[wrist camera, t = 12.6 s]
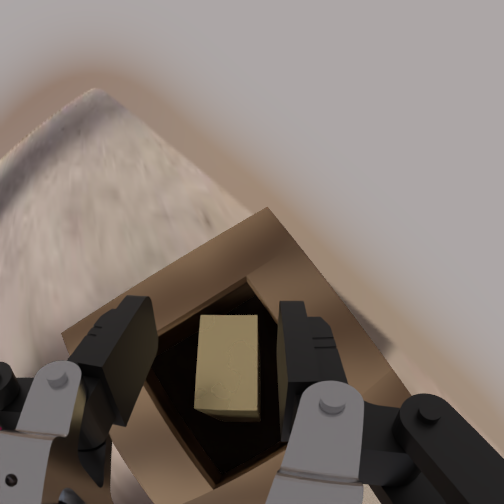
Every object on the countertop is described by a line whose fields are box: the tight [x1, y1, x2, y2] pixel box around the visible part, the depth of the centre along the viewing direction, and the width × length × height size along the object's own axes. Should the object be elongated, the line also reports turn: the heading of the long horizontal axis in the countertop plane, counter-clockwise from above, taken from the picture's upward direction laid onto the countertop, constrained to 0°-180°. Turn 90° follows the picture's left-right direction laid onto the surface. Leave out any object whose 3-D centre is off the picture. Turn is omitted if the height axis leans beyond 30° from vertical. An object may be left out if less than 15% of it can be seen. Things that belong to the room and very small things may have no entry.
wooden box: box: [61, 207, 411, 504], centre depth 21 cm, size 15×15×13 cm
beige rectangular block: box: [194, 315, 260, 422], centre depth 19 cm, size 5×3×10 cm, turn 0°
